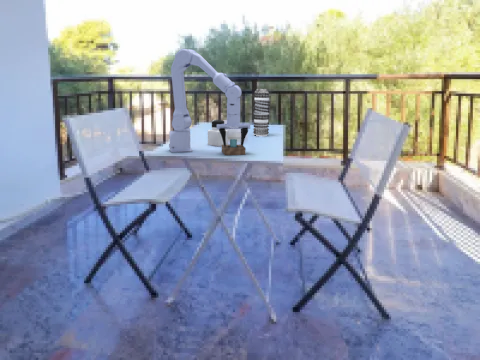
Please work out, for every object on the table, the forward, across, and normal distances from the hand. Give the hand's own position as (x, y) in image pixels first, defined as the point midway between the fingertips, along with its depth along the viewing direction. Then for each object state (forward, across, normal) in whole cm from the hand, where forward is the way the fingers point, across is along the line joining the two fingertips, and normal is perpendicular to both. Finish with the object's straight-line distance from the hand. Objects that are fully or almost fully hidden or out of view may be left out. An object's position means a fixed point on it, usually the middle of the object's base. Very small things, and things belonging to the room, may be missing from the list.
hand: (233, 145), depth 205 cm
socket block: (+3, 0, 0) cm, 3 cm away
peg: (+3, 0, 0) cm, 3 cm away
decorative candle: (+4, +24, +50) cm, 56 cm away
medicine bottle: (+4, -4, +22) cm, 23 cm away
